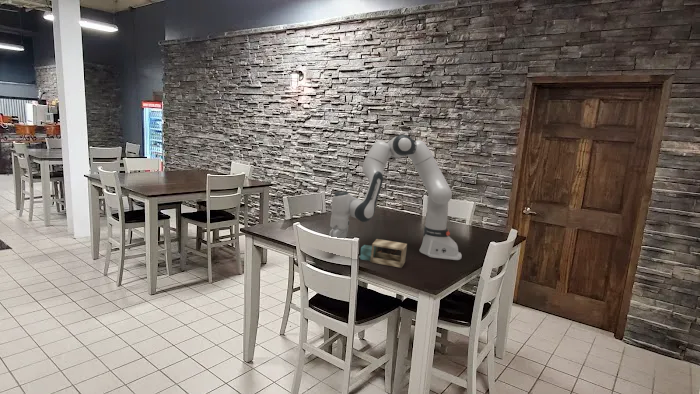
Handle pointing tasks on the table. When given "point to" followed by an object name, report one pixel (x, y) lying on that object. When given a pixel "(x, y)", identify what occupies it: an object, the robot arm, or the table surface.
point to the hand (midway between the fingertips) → (336, 249)
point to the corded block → (366, 252)
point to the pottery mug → (388, 250)
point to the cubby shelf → (388, 256)
